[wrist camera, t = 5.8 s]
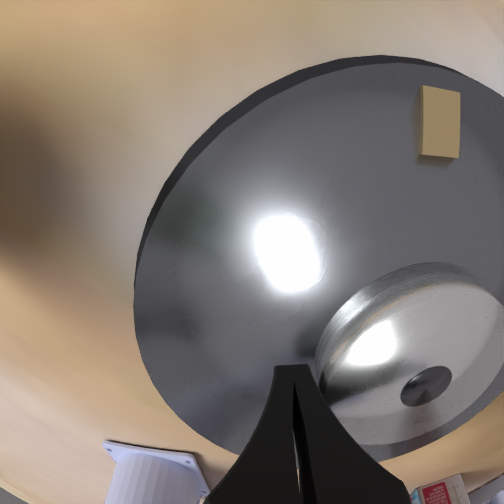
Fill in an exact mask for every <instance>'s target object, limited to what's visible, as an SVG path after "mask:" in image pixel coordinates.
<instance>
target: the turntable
mask: <svg viewBox="0 0 504 504" xmlns="http://www.w3.org/2000/svg"><path fill="white" fill-rule="evenodd" d="M424 262H445V263H451V264H454V265H457V266H460V267H462V268H464V269H465V270H467V271H468V272H470V273H471V274H472V275H473V276H474V277H475V278H476V279H477V280H478V281H479V282H480V283H481V284H482V285H483V286H484V287H485V288H486V289H487V290H488V291H489V292H490V293H491V294H492V295H493V296H494V297H495V298H496V299H497V300H498V301H499V303H500V304H501V305H502V306H503V307H504V97H503V96H501V95H500V94H498V93H497V92H495V91H493V90H492V89H490V88H488V87H486V86H485V85H483V84H481V83H479V82H478V81H476V80H474V79H472V78H469V77H466V76H463V75H461V74H458V73H455V72H452V71H448V70H445V69H442V68H439V67H432V66H425V65H417V64H408V63H386V64H372V65H361V66H354V67H350V68H346V69H343V70H339V71H335V72H331V73H328V74H324V75H321V76H317V77H314V78H311V79H308V80H306V81H304V82H302V83H300V84H298V85H295V86H293V87H291V88H289V89H287V90H285V91H283V92H281V93H279V94H277V95H275V96H273V97H271V98H269V99H267V100H265V101H264V102H262V103H261V104H259V105H258V106H256V107H255V108H254V109H252V110H251V111H249V112H248V113H246V114H245V115H244V116H242V117H241V118H240V119H238V120H237V121H235V122H234V123H233V124H231V125H230V126H229V127H227V128H226V129H225V130H224V131H223V132H221V133H220V134H219V135H218V136H217V137H216V138H215V139H214V140H213V141H212V142H211V143H210V144H209V145H208V146H207V147H206V148H205V149H204V150H203V152H202V153H201V154H200V155H199V156H198V157H197V158H196V159H195V160H194V161H193V162H192V163H191V164H190V165H189V166H188V168H187V169H186V171H185V172H184V173H183V175H182V176H181V178H180V179H179V180H178V182H177V183H176V185H175V186H174V188H173V189H172V190H171V192H170V193H169V195H168V196H167V198H166V199H165V201H164V202H163V204H162V206H161V208H160V211H159V213H158V215H157V217H156V219H155V221H154V223H153V225H152V227H151V229H150V232H149V234H148V236H147V238H146V241H145V245H144V248H143V252H142V255H141V259H140V262H139V266H138V270H137V274H136V283H135V293H134V305H133V308H134V321H135V332H136V338H137V342H138V346H139V350H140V353H141V357H142V361H143V363H144V365H145V367H146V370H147V372H148V374H149V376H150V378H151V380H152V383H153V384H154V386H155V387H156V389H157V390H158V392H159V393H160V395H161V396H162V398H163V399H164V401H165V402H166V403H167V405H168V406H169V407H170V408H171V409H172V410H173V411H174V412H175V413H176V414H177V416H178V417H179V418H180V419H181V420H182V421H184V422H185V423H186V424H187V425H188V426H190V427H191V428H192V429H193V430H194V431H196V432H197V433H198V434H200V435H201V436H203V437H204V438H206V439H208V440H209V441H211V442H212V443H214V444H216V445H218V446H220V447H222V448H224V449H226V450H228V451H230V452H232V453H234V454H237V455H241V453H242V452H243V450H244V448H245V447H246V445H247V443H248V442H249V440H250V438H251V436H252V434H253V432H254V430H255V428H256V426H257V424H258V422H259V420H260V417H261V415H262V413H263V410H264V408H265V405H266V402H267V399H268V396H269V393H270V389H271V385H272V380H273V374H274V367H275V366H276V365H296V364H307V365H309V367H310V370H311V372H312V375H313V377H314V379H315V382H316V377H315V371H314V357H315V351H316V348H317V345H318V341H319V339H320V337H321V335H322V333H323V331H324V329H325V328H326V326H327V325H328V323H329V321H330V320H331V319H332V318H333V316H334V315H335V314H336V313H337V311H338V310H339V309H340V308H341V307H342V306H343V305H344V304H345V303H346V302H347V301H348V300H349V299H350V298H351V297H353V296H354V295H355V294H356V293H357V292H359V291H360V290H361V289H363V288H364V287H366V286H367V285H369V284H370V283H371V282H373V281H375V280H376V279H378V278H380V277H382V276H384V275H386V274H388V273H390V272H392V271H395V270H397V269H400V268H403V267H406V266H409V265H413V264H418V263H424ZM316 384H317V383H316ZM503 390H504V363H503V365H502V367H501V369H500V370H499V372H498V374H497V375H496V377H495V378H494V380H493V381H492V382H491V384H490V385H489V386H488V387H487V389H486V390H485V391H484V392H483V393H482V394H481V395H480V396H479V397H478V399H476V400H475V401H474V402H473V403H472V404H471V405H470V406H469V407H468V408H466V409H465V410H464V411H463V412H461V413H460V414H459V415H457V416H456V417H454V418H453V419H451V420H450V421H448V422H447V423H445V424H443V425H441V426H440V427H438V428H436V429H434V430H432V431H430V432H427V433H425V434H423V435H420V436H417V437H414V438H412V439H408V440H405V441H401V442H396V443H391V444H383V445H363V444H359V445H360V447H361V448H363V449H364V450H365V451H366V452H367V453H368V454H369V455H370V456H371V457H372V458H373V459H374V460H375V461H376V462H380V461H384V460H388V459H391V458H395V457H398V456H400V455H403V454H406V453H409V452H411V451H414V450H416V449H419V448H421V447H423V446H425V445H427V444H430V443H432V442H434V441H436V440H438V439H439V438H441V437H443V436H445V435H447V434H448V433H450V432H452V431H453V430H455V429H457V428H458V427H460V426H461V425H463V424H464V423H465V422H467V421H468V420H470V419H471V418H473V417H474V416H475V415H476V414H478V413H479V412H480V411H481V410H483V409H484V408H485V407H486V406H487V405H489V404H490V403H491V402H492V401H493V400H494V399H495V398H496V397H497V396H498V395H499V394H500V393H501V392H502V391H503ZM293 436H294V433H293ZM294 446H295V440H294ZM295 456H296V466H297V469H299V466H298V458H297V452H296V446H295Z"/></svg>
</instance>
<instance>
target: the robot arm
mask: <svg viewBox="0 0 504 504" xmlns="http://www.w3.org/2000/svg"><path fill="white" fill-rule="evenodd" d="M293 433H294V436H293ZM294 440H295V446H296V452H297V458H298V466H299V484H300V493H299V484H298V475H297V466H296V456H295V446H294ZM102 446H103V447H104V448H105V450H106V451H107V452H108V454H109V455H110V456H111V457H112V459H113V460H114V461H115V462H116V467H115V470H114V473H113V476H112V480H111V483H110V486H109V489H108V493H107V496H106V499H105V503H104V504H200V497H201V496H205V497H206V499H205V501H204V503H203V504H411V500H410V496H409V494H408V491H407V489H406V487H405V485H404V483H403V482H402V481H401V480H399V479H398V478H397V477H395V476H394V475H392V474H391V473H390V472H388V471H387V470H386V469H385V468H383V467H382V466H381V465H380V464H379V463H377V462H376V461H375V460H374V459H373V458H372V457H371V456H370V455H369V454H368V453H367V452H366V451H365V450H364V449H363V448H361V447H360V445H359V444H358V443H357V442H356V441H355V440H354V439H353V438H352V437H351V435H350V434H349V433H348V432H347V431H346V429H345V428H344V427H343V425H342V424H341V423H340V421H339V420H338V419H337V417H336V416H335V414H334V413H333V411H332V410H331V408H330V407H329V405H328V403H327V402H326V400H325V398H324V397H323V395H322V393H321V391H320V389H319V387H318V386H317V384H316V382H315V379H314V377H313V375H312V372H311V370H310V367H309V365H307V364H296V365H276V366H275V367H274V374H273V380H272V385H271V389H270V393H269V396H268V399H267V402H266V405H265V408H264V410H263V413H262V415H261V417H260V420H259V422H258V424H257V426H256V428H255V430H254V432H253V434H252V436H251V438H250V440H249V442H248V443H247V445H246V447H245V448H244V450H243V452H242V453H241V455H240V456H239V458H238V459H237V461H236V462H235V463H234V465H233V466H232V467H231V469H230V470H229V471H228V473H227V474H226V475H225V477H224V478H223V479H222V480H221V481H220V483H219V484H218V485H217V486H216V487H215V488H214V489H213V490H212V491H211V492H210V490H209V488H208V485H207V483H206V481H205V479H204V477H203V475H202V472H201V470H200V468H199V466H198V464H197V461H196V459H195V457H194V455H192V454H190V453H182V452H173V451H164V450H157V449H150V448H143V447H137V446H131V445H125V444H120V443H115V442H110V441H103V443H102ZM481 504H504V489H503V490H501V491H499V492H498V493H497V494H495V495H494V496H493V497H492V498H491V499H489V500H487V501H485V502H483V503H481Z"/></svg>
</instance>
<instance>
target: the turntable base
mask: <svg viewBox="0 0 504 504" xmlns="http://www.w3.org/2000/svg"><path fill="white" fill-rule="evenodd" d="M386 63H408V64H417V65H425V66H432V67H439V68H442V69H445V70H448V71H452V72H455V73H458V74H461V75H463V76H466V75H464V74H462V73H460V72H458V71H456V70H454V69H451V68H448V67H445V66H442V65H439V64H435V63H432V62H428V61H425V60H421V59H416V58H408V57H398V56H387V55H375V56H362V57H352V58H342V59H337V60H334V61H330V62H326V63H322V64H319V65H315V66H312V67H308V68H305V69H302V70H298V71H296V72H294V73H292V74H290V75H288V76H285V77H283V78H281V79H279V80H277V81H275V82H273V83H271V84H269V85H267V86H265V87H263V88H261V89H259V90H257V91H256V92H254V93H253V94H251V95H250V96H249V97H247V98H246V99H244V100H243V101H242V102H240V103H239V104H237V105H236V106H235V107H233V108H232V109H231V110H229V111H228V112H226V113H225V114H224V115H222V116H221V117H220V118H219V119H218V120H217V121H216V122H215V123H214V124H213V125H212V126H211V127H210V128H209V129H208V130H207V131H206V132H205V133H204V134H203V135H202V136H201V137H200V138H199V139H198V140H197V141H196V142H195V143H194V144H193V145H192V146H191V147H190V148H189V149H188V151H187V152H186V153H185V155H184V156H183V158H182V159H181V160H180V162H179V163H178V165H177V166H176V167H175V169H174V170H173V172H172V173H171V175H170V176H169V178H168V179H167V180H166V182H165V183H164V185H163V187H162V189H161V191H160V193H159V195H158V197H157V200H156V202H155V204H154V206H153V208H152V210H151V212H150V214H149V217H148V219H147V222H146V225H145V229H144V232H143V236H142V239H141V243H140V246H139V250H138V254H137V262H136V271H135V281H134V292H135V283H136V274H137V270H138V266H139V262H140V259H141V255H142V252H143V248H144V245H145V241H146V238H147V236H148V234H149V232H150V229H151V227H152V225H153V223H154V221H155V219H156V217H157V215H158V213H159V211H160V208H161V206H162V204H163V202H164V201H165V199H166V198H167V196H168V195H169V193H170V192H171V190H172V189H173V188H174V186H175V185H176V183H177V182H178V180H179V179H180V178H181V176H182V175H183V173H184V172H185V171H186V169H187V168H188V166H189V165H190V164H191V163H192V162H193V161H194V160H195V159H196V158H197V157H198V156H199V155H200V154H201V153H202V152H203V150H204V149H205V148H206V147H207V146H208V145H209V144H210V143H211V142H212V141H213V140H214V139H215V138H216V137H217V136H218V135H219V134H220V133H221V132H223V131H224V130H225V129H226V128H227V127H229V126H230V125H231V124H233V123H234V122H235V121H237V120H238V119H240V118H241V117H242V116H244V115H245V114H246V113H248V112H249V111H251V110H252V109H254V108H255V107H256V106H258V105H259V104H261V103H262V102H264V101H265V100H267V99H269V98H271V97H273V96H275V95H277V94H279V93H281V92H283V91H285V90H287V89H289V88H291V87H293V86H295V85H298V84H300V83H302V82H304V81H306V80H308V79H311V78H314V77H317V76H321V75H324V74H328V73H331V72H335V71H339V70H343V69H346V68H350V67H354V66H361V65H372V64H386ZM466 77H468V76H466Z"/></svg>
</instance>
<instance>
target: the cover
mask: <svg viewBox="0 0 504 504" xmlns="http://www.w3.org/2000/svg"><path fill="white" fill-rule="evenodd" d="M503 363H504V307H503V306H502V305H501V304H500V303H499V301H498V300H497V299H496V298H495V297H494V296H493V295H492V294H491V293H490V292H489V291H488V290H487V289H486V288H485V287H484V286H483V285H482V284H481V283H480V282H479V281H478V280H477V279H476V278H475V277H474V276H473V275H472V274H471V273H470V272H468V271H467V270H465V269H464V268H462V267H460V266H457V265H454V264H451V263H445V262H424V263H418V264H413V265H409V266H406V267H403V268H400V269H397V270H395V271H392V272H390V273H388V274H386V275H384V276H382V277H380V278H378V279H376V280H375V281H373V282H371V283H370V284H369V285H367V286H366V287H364V288H363V289H361V290H360V291H359V292H357V293H356V294H355V295H354V296H353V297H351V298H350V299H349V300H348V301H347V302H346V303H345V304H344V305H343V306H342V307H341V308H340V309H339V310H338V311H337V313H336V314H335V315H334V316H333V318H332V319H331V320H330V321H329V323H328V325H327V326H326V328H325V329H324V331H323V333H322V335H321V337H320V339H319V341H318V345H317V348H316V351H315V357H314V371H315V377H316V383H317V386H318V387H319V389H320V391H321V393H322V395H323V397H324V398H325V400H326V402H327V403H328V405H329V407H330V408H331V410H332V411H333V413H334V414H335V416H336V417H337V419H338V420H339V421H340V423H341V424H342V425H343V427H344V428H345V429H346V431H347V432H348V433H349V434H350V435H351V437H352V438H353V439H354V440H355V441H356V442H357V443H358V444H363V445H383V444H391V443H396V442H401V441H405V440H408V439H412V438H414V437H417V436H420V435H423V434H425V433H427V432H430V431H432V430H434V429H436V428H438V427H440V426H441V425H443V424H445V423H447V422H448V421H450V420H451V419H453V418H454V417H456V416H457V415H459V414H460V413H461V412H463V411H464V410H465V409H466V408H468V407H469V406H470V405H471V404H472V403H473V402H474V401H475V400H476V399H478V397H479V396H480V395H481V394H482V393H483V392H484V391H485V390H486V389H487V387H488V386H489V385H490V384H491V382H492V381H493V380H494V378H495V377H496V375H497V374H498V372H499V370H500V369H501V367H502V365H503Z"/></svg>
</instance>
